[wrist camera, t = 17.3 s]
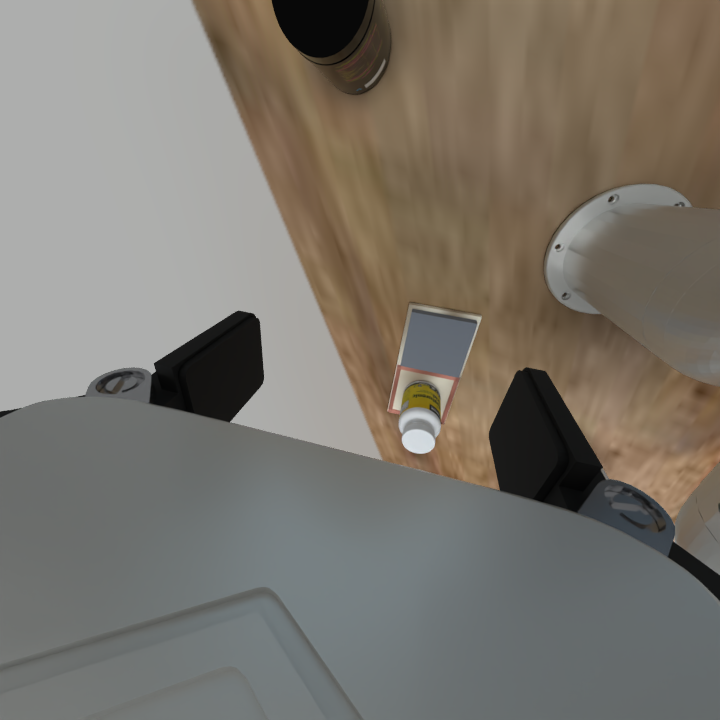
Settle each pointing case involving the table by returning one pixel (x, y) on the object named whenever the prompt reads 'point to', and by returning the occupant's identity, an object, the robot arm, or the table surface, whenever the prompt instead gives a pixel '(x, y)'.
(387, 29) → the supplement container
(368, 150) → the table surface
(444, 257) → the table surface
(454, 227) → the table surface
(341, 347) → the table surface
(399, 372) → the stamping board
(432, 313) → the ink pad
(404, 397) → the supplement bottle
